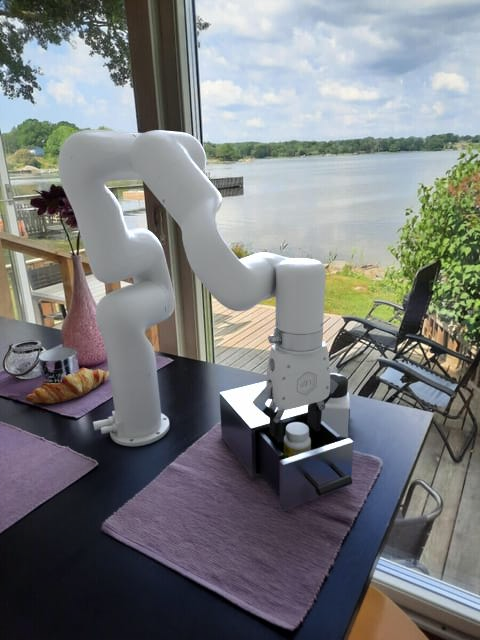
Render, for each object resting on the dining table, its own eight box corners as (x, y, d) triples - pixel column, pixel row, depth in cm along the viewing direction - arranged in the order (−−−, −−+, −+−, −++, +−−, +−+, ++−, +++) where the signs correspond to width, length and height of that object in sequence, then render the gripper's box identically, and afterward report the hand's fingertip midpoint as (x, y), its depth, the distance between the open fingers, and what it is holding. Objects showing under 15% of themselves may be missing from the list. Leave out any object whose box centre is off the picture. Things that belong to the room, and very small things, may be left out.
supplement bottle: (281, 461, 81) (281, 421, 78) (306, 459, 81) (307, 419, 78) (286, 478, 76) (286, 436, 74) (313, 476, 77) (314, 434, 74)
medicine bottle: (348, 438, 90) (351, 386, 86) (313, 435, 92) (314, 383, 88) (347, 420, 97) (350, 370, 93) (314, 417, 98) (316, 368, 94)
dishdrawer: (320, 456, 85) (321, 408, 82) (252, 479, 79) (251, 428, 76) (282, 420, 98) (282, 377, 94) (221, 437, 92) (219, 392, 89)
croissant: (106, 387, 123) (97, 360, 123) (120, 381, 115) (110, 353, 115) (26, 415, 109) (16, 384, 109) (37, 411, 101) (26, 378, 102)
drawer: (369, 502, 72) (372, 457, 69) (298, 531, 67) (299, 483, 64) (308, 444, 87) (308, 404, 85) (247, 463, 82) (245, 422, 79)
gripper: (261, 355, 64) (260, 458, 70) (357, 335, 71) (349, 431, 76) (239, 338, 70) (241, 434, 76) (329, 321, 77) (324, 410, 83)
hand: (295, 431), depth 76 cm, fingers open, 6 cm apart
